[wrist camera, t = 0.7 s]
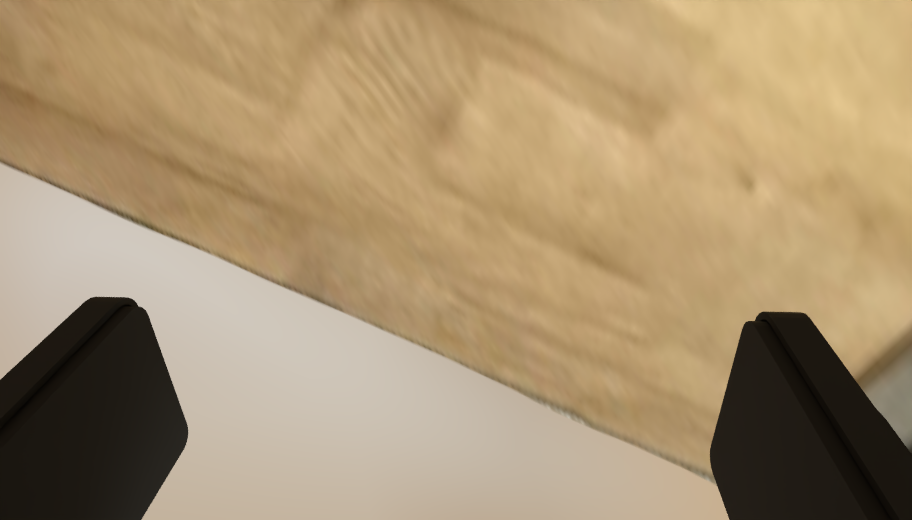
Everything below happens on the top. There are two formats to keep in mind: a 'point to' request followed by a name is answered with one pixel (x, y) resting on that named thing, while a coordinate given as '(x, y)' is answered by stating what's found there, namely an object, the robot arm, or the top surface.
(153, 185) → the top surface
